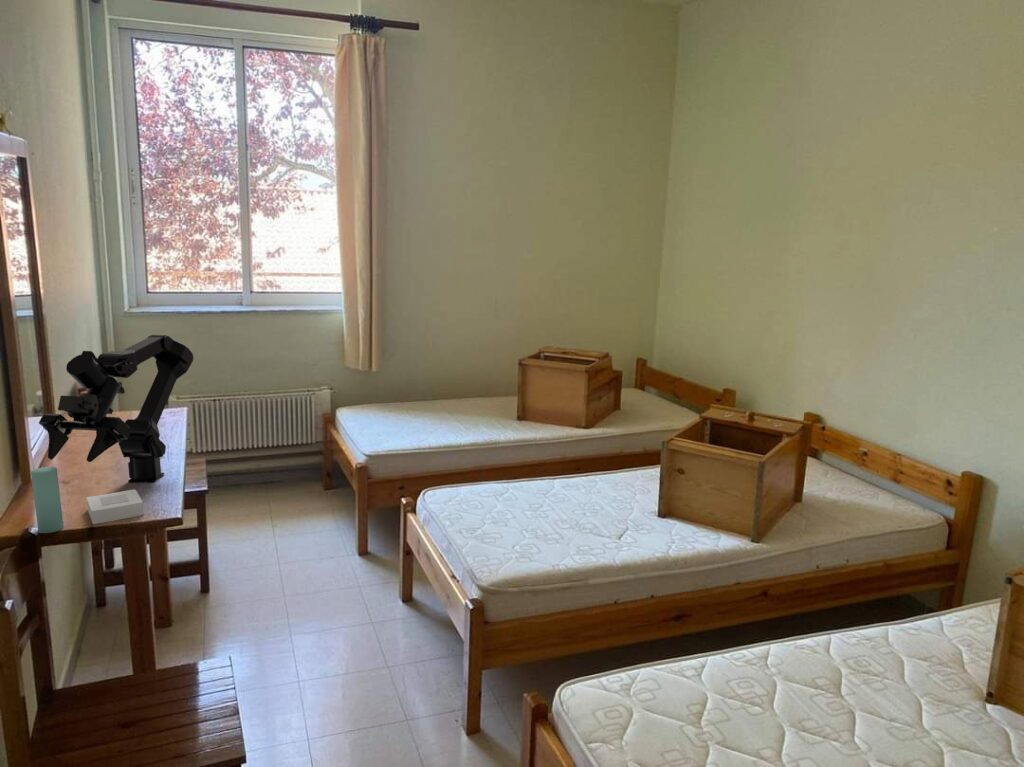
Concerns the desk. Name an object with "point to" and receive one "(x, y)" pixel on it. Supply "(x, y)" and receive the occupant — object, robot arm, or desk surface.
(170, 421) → the desk surface
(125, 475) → the desk surface
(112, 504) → the plinth
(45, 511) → the pillar
